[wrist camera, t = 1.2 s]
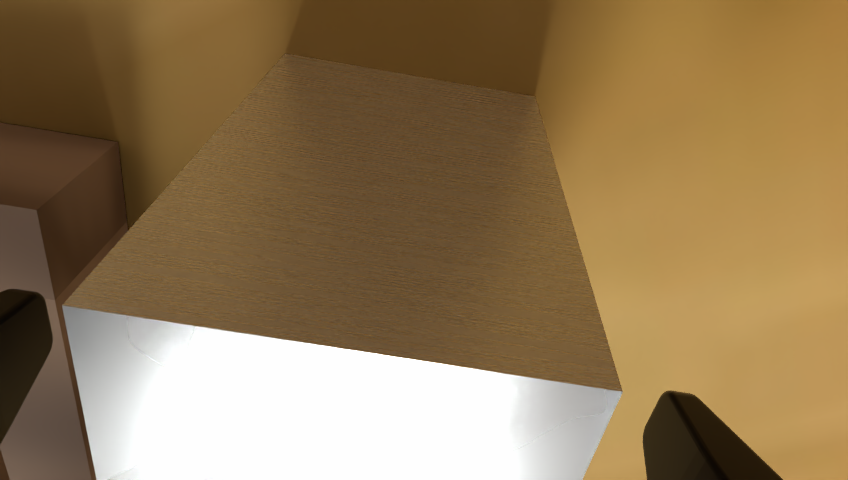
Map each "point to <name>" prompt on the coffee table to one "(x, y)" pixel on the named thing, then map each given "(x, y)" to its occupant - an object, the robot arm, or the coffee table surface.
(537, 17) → the coffee table surface
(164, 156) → the coffee table surface
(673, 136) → the coffee table surface
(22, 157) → the well block
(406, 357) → the rectangular block
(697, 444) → the robot arm
